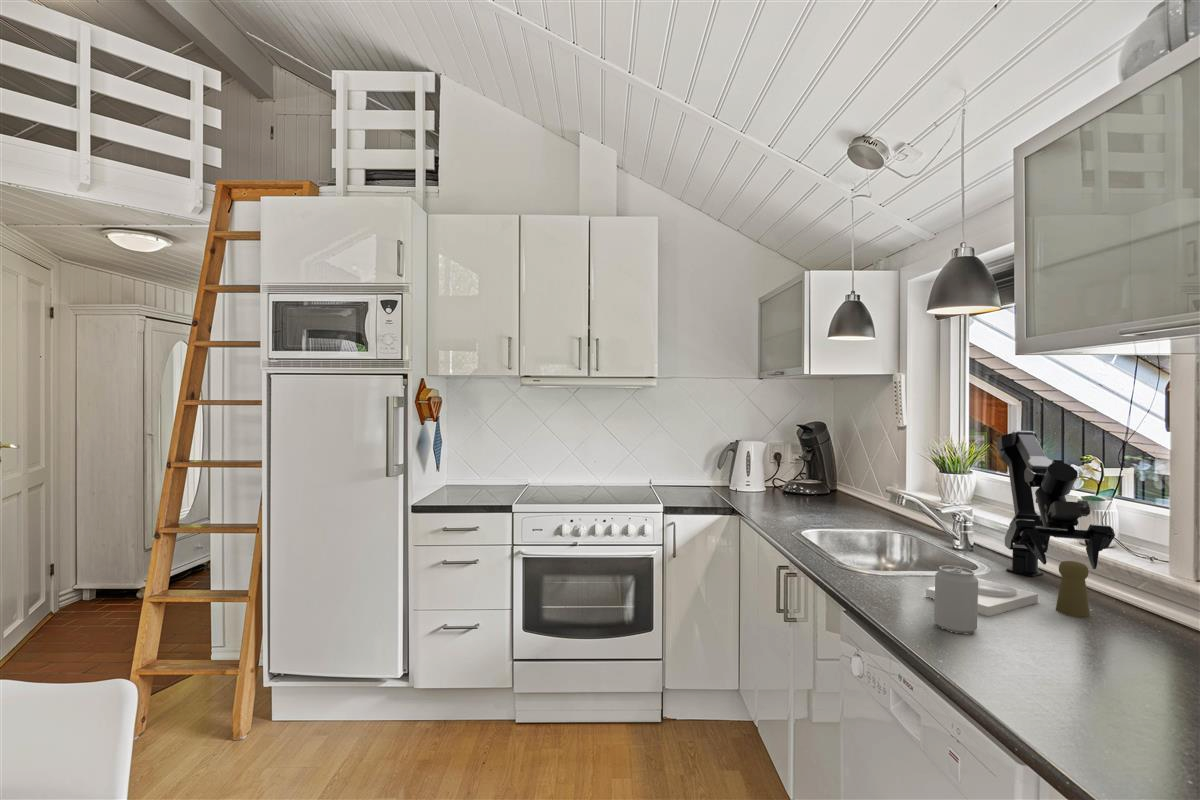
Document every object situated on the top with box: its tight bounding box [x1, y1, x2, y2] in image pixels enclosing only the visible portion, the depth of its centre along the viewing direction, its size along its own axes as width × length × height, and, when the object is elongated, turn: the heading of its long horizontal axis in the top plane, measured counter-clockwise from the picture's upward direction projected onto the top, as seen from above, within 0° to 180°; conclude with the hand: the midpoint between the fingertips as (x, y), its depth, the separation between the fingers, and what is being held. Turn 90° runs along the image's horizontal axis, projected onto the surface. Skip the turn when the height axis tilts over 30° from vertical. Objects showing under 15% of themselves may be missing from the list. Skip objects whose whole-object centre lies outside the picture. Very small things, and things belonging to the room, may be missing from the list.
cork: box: [1055, 560, 1091, 619], centre depth 135 cm, size 6×6×11 cm
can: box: [933, 565, 978, 634], centre depth 125 cm, size 8×8×12 cm
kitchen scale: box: [925, 577, 1039, 617], centre depth 143 cm, size 20×14×3 cm
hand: (1069, 565), depth 137 cm, fingers open, 9 cm apart
